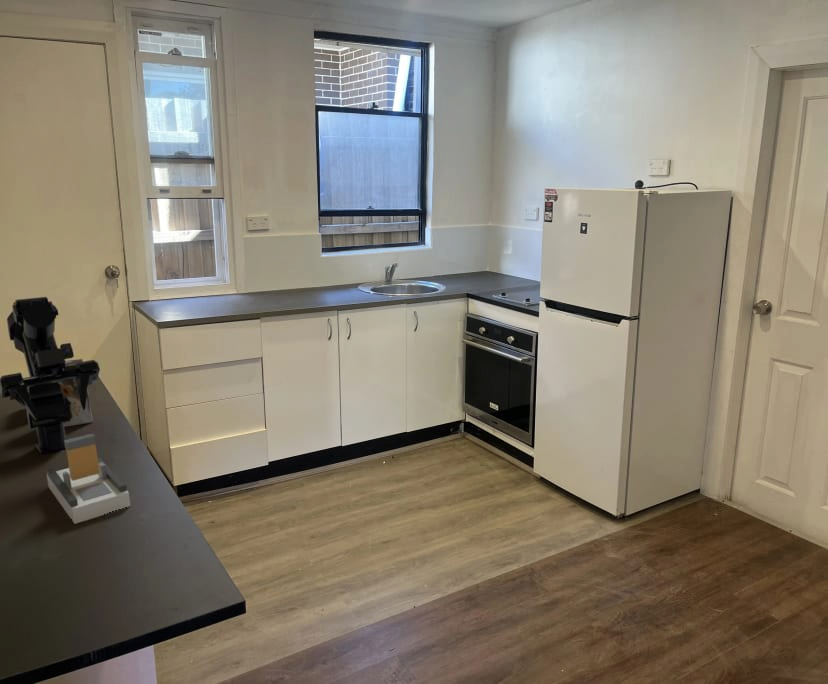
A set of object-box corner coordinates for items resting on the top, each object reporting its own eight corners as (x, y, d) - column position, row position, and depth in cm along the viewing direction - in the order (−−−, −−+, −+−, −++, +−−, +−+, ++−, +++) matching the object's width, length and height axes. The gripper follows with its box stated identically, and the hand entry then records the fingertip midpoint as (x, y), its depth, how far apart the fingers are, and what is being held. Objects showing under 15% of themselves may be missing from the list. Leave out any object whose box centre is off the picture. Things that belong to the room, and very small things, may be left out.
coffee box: (91, 415, 178) (83, 358, 174) (92, 422, 173) (84, 363, 169) (53, 421, 174) (44, 362, 170) (53, 429, 168) (43, 368, 165)
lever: (69, 478, 130) (64, 440, 128) (97, 470, 133) (92, 433, 131) (72, 481, 129) (66, 442, 127) (100, 473, 132) (95, 436, 130)
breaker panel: (48, 487, 136) (44, 460, 135) (99, 473, 143) (96, 447, 141) (74, 523, 122) (70, 494, 120) (130, 506, 128) (126, 477, 126)
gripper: (-8, 339, 132) (11, 409, 128) (92, 325, 143) (112, 389, 139) (-8, 363, 140) (9, 430, 136) (87, 348, 152) (105, 409, 147)
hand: (60, 414), depth 139 cm, fingers open, 9 cm apart
